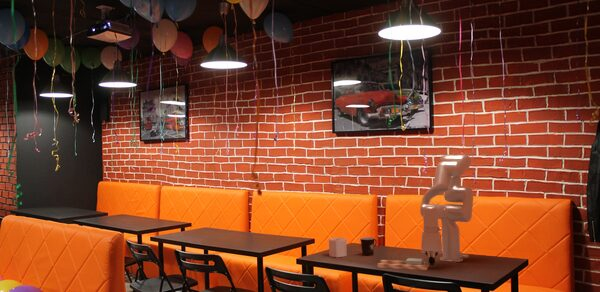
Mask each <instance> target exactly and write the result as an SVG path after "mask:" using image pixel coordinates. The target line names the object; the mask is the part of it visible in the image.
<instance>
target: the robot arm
mask: <svg viewBox="0 0 600 292" xmlns="http://www.w3.org/2000/svg"><path fill="white" fill-rule="evenodd" d="M471 163H472V160H471V157H470V156H469V155H468V154H464V153H463V154H460V153H459V154H443V155H441V156H440V158H439V162H438V163H437V165H436V169H435V174H434V179H433V182H432V183H433V184H432V186H431V187H430V188H429V189H428V190H427V191H426V192H425V193H424V194H423V197H422V199H421V202H420V203H421V204H420V210H419V211H420V215H421V217H423V219H422V220H423V221H422V222H423V223H422V224H423V231H422V233H421V234H422V235H421V244H420V245H421V251H420V253H421V254H424V255H426V256H427V257H428V262H429V266H434V265H435V264H436V257H437V255H442V256H440V257H439V260H440V261H444V262H456V263H462V262H463V261H464V258H465V259H468V258H469V254H467V253H462V252H461V248H460V246H461V245H460V244H461V241H460V240H461V239H460V238H461V237H460V228H459V226H458V224H457V222H460V223H468V222H470V221H471V220H472V216H473V215H472V214H473V205H474V192H473V189H472V187H471V186H468V185H462V184H461V182H462V176H463V175H464V174H465V173H466V172H467V171H468V170H469V169H470V167H471ZM441 194H443V196H444V200H445V202H448V203H447V204H436V203H432V204H431V203H430V202H431V200H433V199H434V198H435V197H437V196H439V195H441ZM449 203H450V204H449ZM451 203H454V204H451ZM455 203H456V204H455ZM459 203H460V204H459ZM439 220H440V222H441V227H440V226H439ZM440 231H441V232H440Z"/></svg>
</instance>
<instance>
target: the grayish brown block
mask: <svg viewBox="0 0 600 292" xmlns="http://www.w3.org/2000/svg"><path fill="white" fill-rule="evenodd" d="M405 261H406V265H423V262H424V259H423V258H416V257H415V258H414V257H413V258H411V257H407V259H406V260H405Z"/></svg>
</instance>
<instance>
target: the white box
mask: <svg viewBox="0 0 600 292" xmlns="http://www.w3.org/2000/svg"><path fill="white" fill-rule="evenodd" d="M328 251H329V252H328V255H329V257H331V258H344V257H347V255H348V253H347V251H348V250H347V238H345V237H333V238H332V237H331V238H329V239H328Z"/></svg>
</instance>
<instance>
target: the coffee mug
mask: <svg viewBox="0 0 600 292" xmlns="http://www.w3.org/2000/svg"><path fill="white" fill-rule="evenodd" d="M359 240H360V245H361V251H362V252H361V253H362V256H364V257H365V256H366V257H373V256H374V252H375V251H374V250H375V247H376V245H377V244H378V243H377V239H376V238H375V237H369V236H367V237H366V236H365V237H361V238H360V239H359Z"/></svg>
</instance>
